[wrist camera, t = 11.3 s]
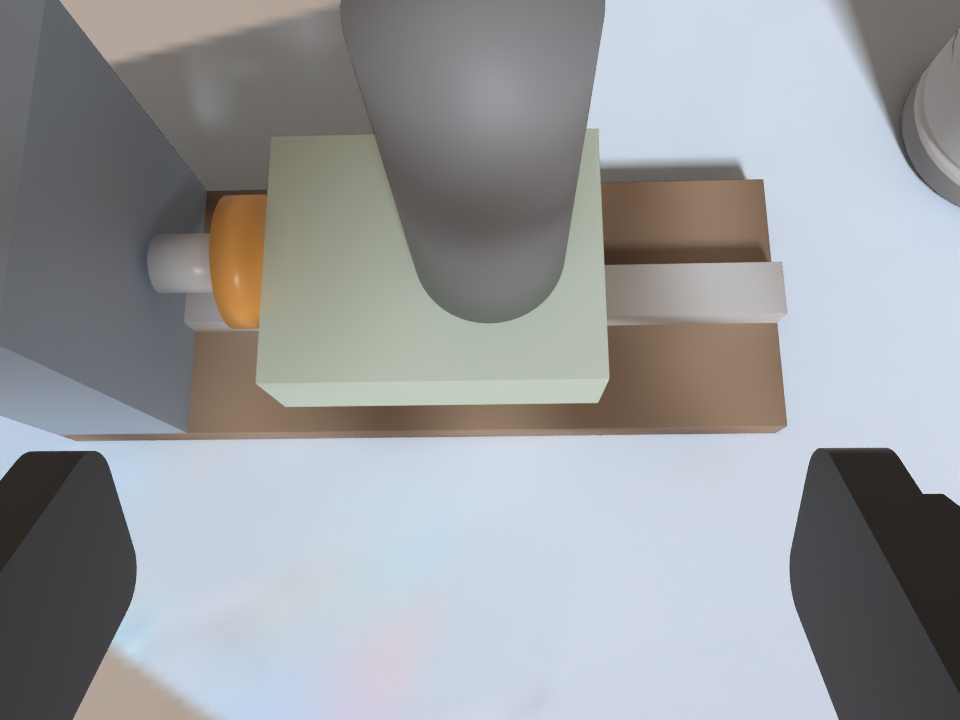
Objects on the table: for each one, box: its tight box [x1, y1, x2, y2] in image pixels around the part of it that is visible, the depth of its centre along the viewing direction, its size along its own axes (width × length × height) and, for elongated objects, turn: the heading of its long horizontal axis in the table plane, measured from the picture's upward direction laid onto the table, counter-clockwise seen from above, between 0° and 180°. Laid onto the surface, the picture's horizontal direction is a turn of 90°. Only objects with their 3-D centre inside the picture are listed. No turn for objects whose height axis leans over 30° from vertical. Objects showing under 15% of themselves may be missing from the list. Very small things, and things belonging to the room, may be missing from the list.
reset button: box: [147, 195, 267, 329], centre depth 23 cm, size 3×4×4 cm
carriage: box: [256, 0, 610, 407], centre depth 19 cm, size 9×7×13 cm
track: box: [60, 179, 787, 441], centre depth 27 cm, size 22×8×2 cm, turn 90°
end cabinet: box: [0, 0, 207, 435], centre depth 22 cm, size 4×8×10 cm, turn 0°
